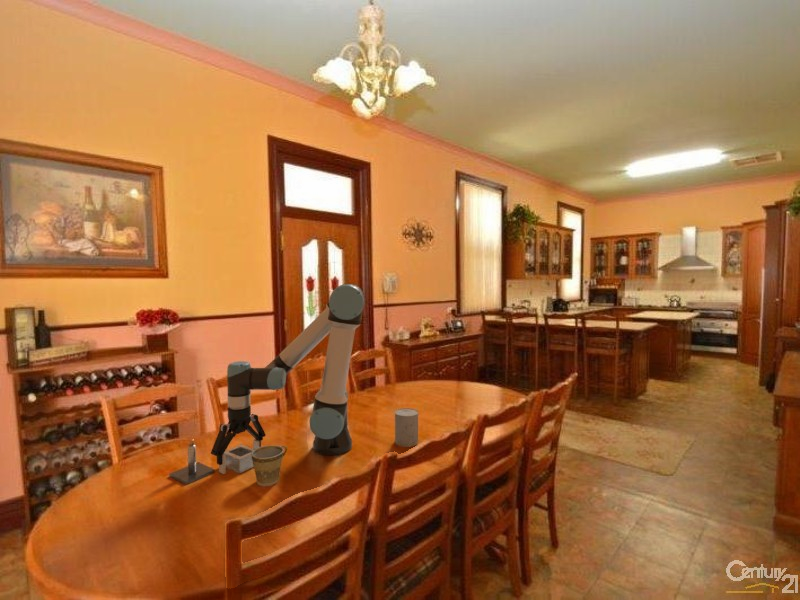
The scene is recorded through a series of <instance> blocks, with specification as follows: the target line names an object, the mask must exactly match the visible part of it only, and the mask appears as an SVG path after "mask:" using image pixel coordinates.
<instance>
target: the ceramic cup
mask: <svg viewBox="0 0 800 600" xmlns="http://www.w3.org/2000/svg"><path fill="white" fill-rule="evenodd" d="M284 448H285V450H284ZM287 451H288V448H287V446H286V445H282V446H280V445H276V444H275V445H274V444H273V445H272V444H271V445H270V444H269V445H263V446H261V447H259V448H257V449H255V450H254V451H253V452H252V454H251V455H252V461H253V465H254V467H253V469H254V473H255V477H256V483H257V485H258V486H260V487H270V486H273V485H275V484H278V482H279V478H280V472H281V466H282V463H283V459H284V457H285V456H286V453H287Z"/></svg>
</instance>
